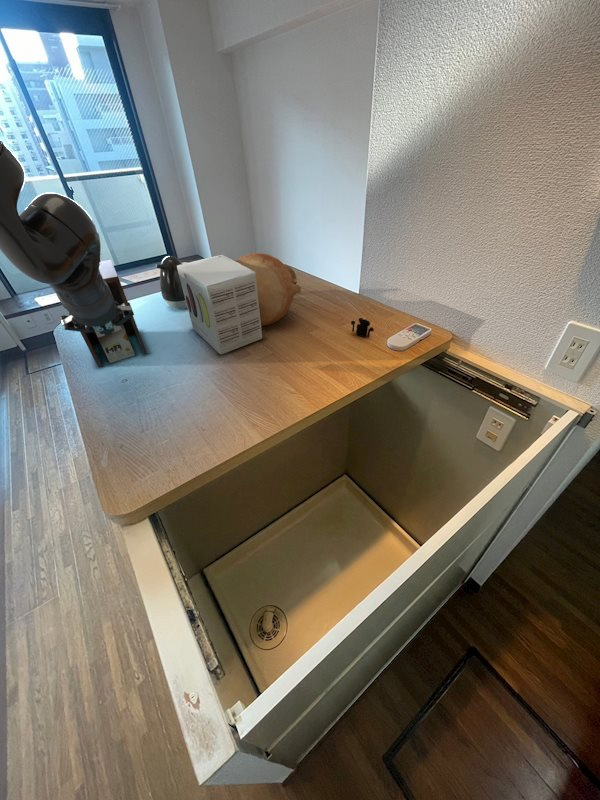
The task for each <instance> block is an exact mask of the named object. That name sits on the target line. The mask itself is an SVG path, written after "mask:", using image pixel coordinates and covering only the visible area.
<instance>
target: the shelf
mask: <svg viewBox="0 0 600 800" xmlns="http://www.w3.org/2000/svg"><path fill="white" fill-rule="evenodd" d="M99 270H100V272H101V275H102V277H103V279H104V280H105V281H106V283H107V285H108V287H109V289H110V291H111V293H112V296H113V298H114V301H115V302H117V303H119V305H123V304H124V303H126V302H128V299H127V296H126V294H125V293H126V292H125V291H124V288H123V286H122V283H121V281H120V278H119V275H118V273H117V270H116V269H115V266H114V263H113V261H112V259H106V260H100V267H99ZM82 325H83V324H82ZM123 326H124V328H125V331H126V333H127V336H128V337H133V336H136V338H137V340H138V342H139V345H140V347H141V350H142V353H143V355H144V356H145V355H148V352H147V348H146V346H145V343H144V340H143V338H142V336H141V333H140V330H139V328H138V325H137V323H136V319H135V317H134V315H133V316H132V317H130V318H129V319H128V320H127V321H125V322H124V323H123ZM83 327H85V325H83ZM80 335H81V336H82V339H83V340H84V343H85V345H86V347H87V348H88V350H89V352H90V354H91V356H92V358H93V360H94V361H95V364H96V366H97V367H98V368H101V367H103V365H102V360H101V355H100V351H99V345H101V344H100V342H99V340H98V337H97V335H96V333H95V331H93V332H91V333H87V332H80Z"/></svg>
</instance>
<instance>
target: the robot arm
mask: <svg viewBox="0 0 600 800" xmlns="http://www.w3.org/2000/svg"><path fill="white" fill-rule="evenodd" d="M25 181H26V171H25V168H24V167H23V165H22V163H21V162H20V161H19V159H18V157H16V155H15V154H14V153H13V152H12V151H11V149H9V148H8V146H7V145H6V144H5V143H4V142H3V141H2V140H1V139H0V251H1V253H2V254H3V255H4V256H5V258H6V259H7V260H8V261H9V262H10V263H11V264H12V265H13V266H14V267H15V268H16V269H17V270H19V271H20V272H21V273H22V274H24V275H25V276H26V277H28V278H29V279H31V280H34V281H36V282H39V283H42V284H46V285H49V286H50V288H51V289H52V291H54V293H55V294H56V296H57V298H58V300H59V302H60V304H61V305H62V307H63V308H64V309H65V310H66V311H67V312H68V314H69V315H66V314H65V315H64V314H63V315H60V316H59V319H60V323H61V325H62V327H63V329H64V330H65V331H69V332H71V331H72V332H78V333H79V332H87V333H91V332H93V331H94V330H97V331H99V332H100V334H105V336H106V335H111V334H112V332H114V331H115V330H114V327H113V326H114V325H115V326H120V325H122V324H123V323H124V322H125V321H127V320H128V319H129V318H130V317H132V316H133V317H134V315H135V312H134V310H133V307H132V305H131V303H130V302H126V303H124V304H123V305H119V303H117V302H115V301H114V298H113V296H112V293H111V291H110V289H109V287H108V285H107V283H106V281H105V280H104V279H103V277H102V275H101V272H100V270H99V267H100V261H101V248H102V247H101V237H100V233H99V231H98V228H97V227H96V224H95V222H94V221H93V219H92V217H91V216H90V215H89V213H88V212H87V211H86V210H85V209H84V208H83V207H82V206H81V205H80V204H79V203H78V202H76V201H75V200H73V199H71V198H70V197H68V196H67V195H63V194H60V193H56V192H44V193H42V194H39V195H37V196H36V197H35V198H34V199H33V200H32V201H31V202H30V203H29V204H28V205H27V207H26V208H25V209H24V210H23V211H22V212H21V213H20V215H19V212H18V201H19V198H20V195H21V192H22V190H23V189H24V185H25ZM118 316H119V317H118ZM82 324H83V325H85V327H83V325H82Z"/></svg>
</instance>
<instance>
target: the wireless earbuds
mask: <svg viewBox="0 0 600 800" xmlns="http://www.w3.org/2000/svg"><path fill="white" fill-rule="evenodd" d="M358 322H359V323H357V324H356V321H355V320H351V321H350V324H351V325H352V328H351V329H352V330H351V331H352V333H354V331H355V324H356V331H355V334H356V335H357V336H359V337H362V338H366V337H367V338H368V339H369V338H370V332H374V331H375V330H374V327H373V326H371V322H370V321H369V320H368V319H364V318H362V317H359V318H358ZM370 326H371V327H370ZM369 327H370V328H369Z"/></svg>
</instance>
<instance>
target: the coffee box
mask: <svg viewBox="0 0 600 800" xmlns="http://www.w3.org/2000/svg"><path fill="white" fill-rule="evenodd" d="M118 317H119V316H118ZM113 327H114V330H115V331H114V332H112V334H111V335H106V336H105V334H100V332H99V331H97V330H94V331H95V333H96V335H97V337H98V340H99V342H100V344H99V345H100V346H101V348H102V350H103V352H104V354H105V356H106V358H107V361H108V362H109V364H112V363H116V362H119V361H122V360H125V359H129V358H131V357H134V356H135V351H134V348H133V346H132V344H131V342H130V338H129V336H127V333H126V331H125V328H124V326H123V324H122V325H120V326H115V325H114V326H113Z"/></svg>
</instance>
